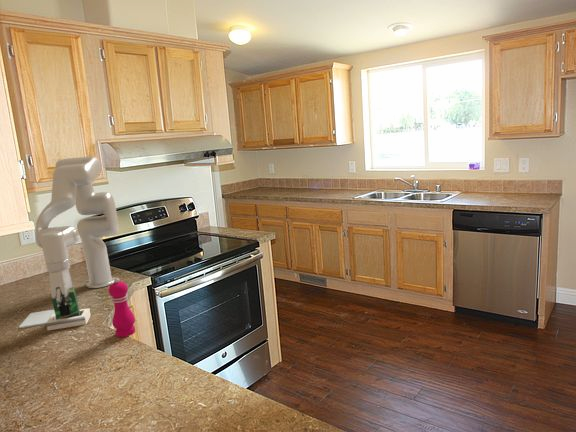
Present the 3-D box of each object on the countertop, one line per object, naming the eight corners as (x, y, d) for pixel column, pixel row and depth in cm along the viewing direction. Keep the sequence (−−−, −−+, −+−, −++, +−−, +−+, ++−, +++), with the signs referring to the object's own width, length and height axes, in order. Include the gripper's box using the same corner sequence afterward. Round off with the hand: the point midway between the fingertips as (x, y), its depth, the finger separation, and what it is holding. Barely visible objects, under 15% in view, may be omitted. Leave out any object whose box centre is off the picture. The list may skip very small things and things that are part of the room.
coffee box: (56, 327, 158) (49, 293, 156) (58, 323, 161) (51, 290, 158) (80, 322, 161) (74, 289, 158) (81, 319, 163) (75, 286, 161)
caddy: (53, 321, 163) (52, 314, 163) (90, 315, 166) (89, 308, 166) (46, 331, 155) (45, 324, 154) (85, 325, 158) (84, 317, 157)
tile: (30, 314, 172) (30, 313, 172) (60, 309, 174) (60, 308, 174) (18, 328, 160) (18, 327, 159) (51, 323, 162) (51, 321, 162)
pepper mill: (129, 338, 144) (119, 281, 140) (110, 338, 146) (100, 281, 142) (141, 328, 151) (131, 274, 147) (122, 328, 153) (112, 274, 149)
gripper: (53, 260, 164) (62, 305, 167) (39, 274, 147) (49, 323, 151) (75, 257, 165) (83, 301, 169) (63, 270, 149) (73, 319, 153)
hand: (67, 311), depth 160 cm, fingers open, 5 cm apart
